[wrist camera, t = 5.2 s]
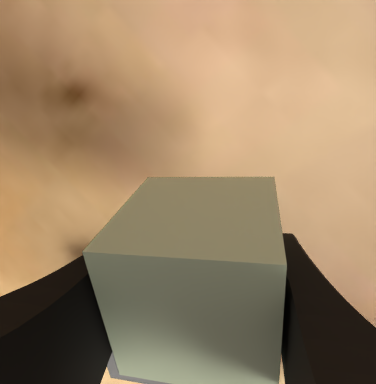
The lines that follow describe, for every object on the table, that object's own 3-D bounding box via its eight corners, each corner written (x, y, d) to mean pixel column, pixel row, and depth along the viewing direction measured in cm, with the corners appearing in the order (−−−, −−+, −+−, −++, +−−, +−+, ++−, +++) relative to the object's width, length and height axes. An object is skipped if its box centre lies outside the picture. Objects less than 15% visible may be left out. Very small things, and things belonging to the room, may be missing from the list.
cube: (274, 176, 10) (287, 265, 6) (270, 280, 13) (277, 401, 8) (147, 177, 12) (81, 251, 7) (163, 272, 14) (119, 374, 9)
